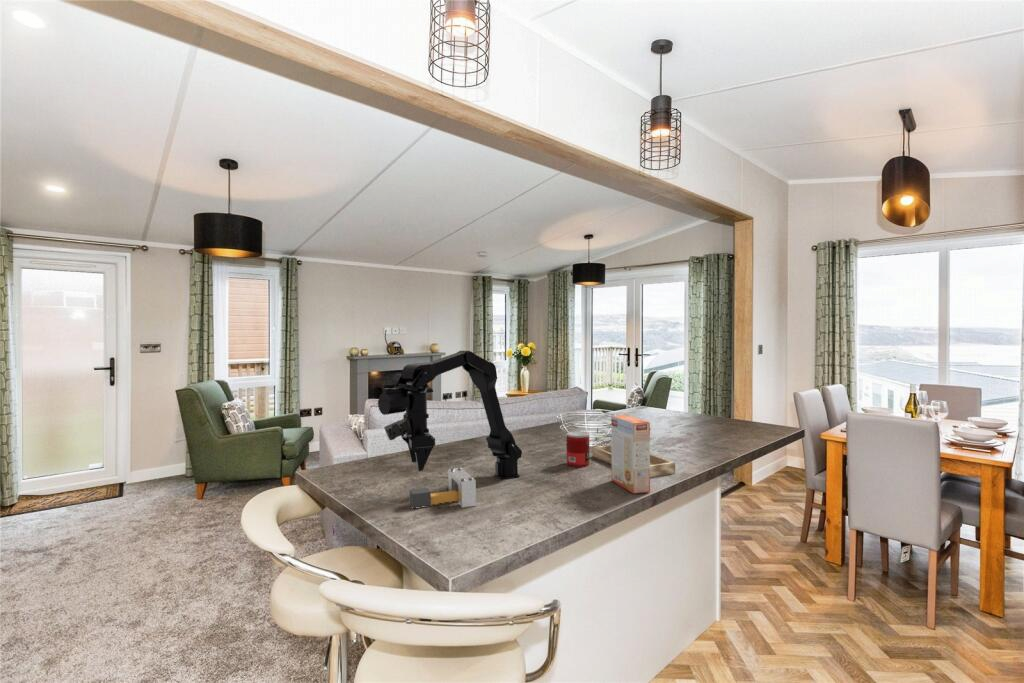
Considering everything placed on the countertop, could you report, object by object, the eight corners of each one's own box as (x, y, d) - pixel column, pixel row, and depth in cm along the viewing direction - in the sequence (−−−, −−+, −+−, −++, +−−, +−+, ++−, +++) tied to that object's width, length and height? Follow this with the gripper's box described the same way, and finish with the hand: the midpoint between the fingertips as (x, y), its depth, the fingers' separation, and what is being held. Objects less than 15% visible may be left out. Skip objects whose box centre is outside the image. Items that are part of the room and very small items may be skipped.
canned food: (591, 467, 169) (590, 435, 169) (568, 467, 169) (567, 436, 169) (587, 461, 176) (587, 431, 176) (565, 461, 177) (565, 431, 176)
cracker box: (651, 492, 142) (650, 421, 141) (632, 494, 140) (632, 422, 140) (628, 478, 155) (627, 413, 155) (610, 480, 154) (610, 414, 153)
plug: (461, 496, 141) (461, 482, 141) (465, 500, 137) (465, 486, 137) (409, 504, 135) (409, 489, 135) (412, 509, 131) (412, 494, 131)
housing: (461, 490, 146) (461, 466, 146) (476, 505, 133) (475, 479, 133) (448, 492, 144) (448, 468, 144) (462, 508, 132) (461, 481, 131)
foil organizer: (621, 452, 188) (621, 443, 188) (675, 473, 160) (675, 462, 160) (593, 456, 183) (592, 447, 183) (643, 478, 155) (642, 467, 155)
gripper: (381, 407, 139) (382, 461, 139) (391, 417, 122) (392, 479, 122) (420, 404, 143) (421, 457, 143) (435, 414, 126) (436, 474, 126)
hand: (417, 466), depth 134 cm, fingers open, 9 cm apart
